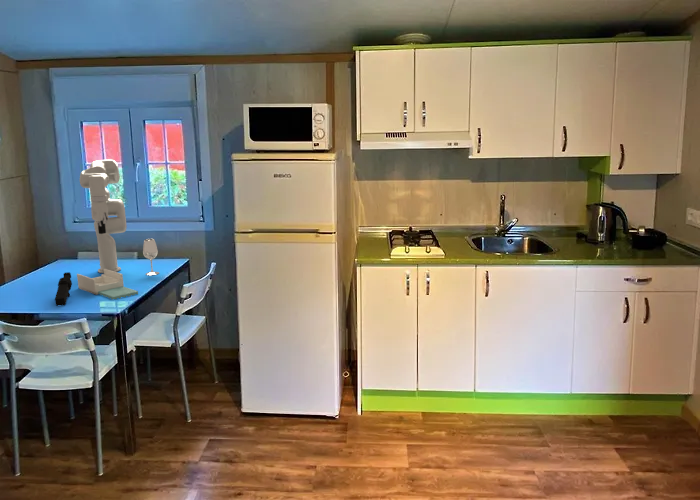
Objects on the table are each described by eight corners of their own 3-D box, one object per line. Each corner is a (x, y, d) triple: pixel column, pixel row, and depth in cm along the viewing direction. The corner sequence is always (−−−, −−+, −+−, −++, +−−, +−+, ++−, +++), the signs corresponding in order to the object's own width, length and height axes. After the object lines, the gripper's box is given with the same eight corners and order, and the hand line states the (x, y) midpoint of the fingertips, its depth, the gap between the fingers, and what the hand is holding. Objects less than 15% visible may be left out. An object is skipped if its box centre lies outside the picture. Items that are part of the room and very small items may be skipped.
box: (78, 288, 317) (76, 273, 315) (106, 282, 327) (104, 268, 326) (95, 294, 303) (94, 279, 302) (123, 288, 314) (122, 274, 312)
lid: (98, 295, 304) (98, 291, 304) (123, 289, 314) (122, 286, 313) (113, 300, 294) (113, 296, 293) (138, 295, 303) (138, 291, 302)
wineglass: (155, 275, 341) (152, 241, 336) (142, 275, 342) (139, 240, 338) (162, 272, 348) (159, 238, 344) (149, 272, 350) (146, 238, 346)
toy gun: (75, 286, 310) (72, 269, 305) (68, 313, 289) (65, 296, 284) (63, 286, 308) (60, 270, 304) (56, 314, 288) (52, 297, 283)
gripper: (85, 198, 316) (89, 232, 321) (98, 201, 306) (102, 236, 311) (99, 196, 321) (102, 230, 326) (112, 199, 312) (115, 234, 316)
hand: (102, 233), depth 318 cm, fingers closed
